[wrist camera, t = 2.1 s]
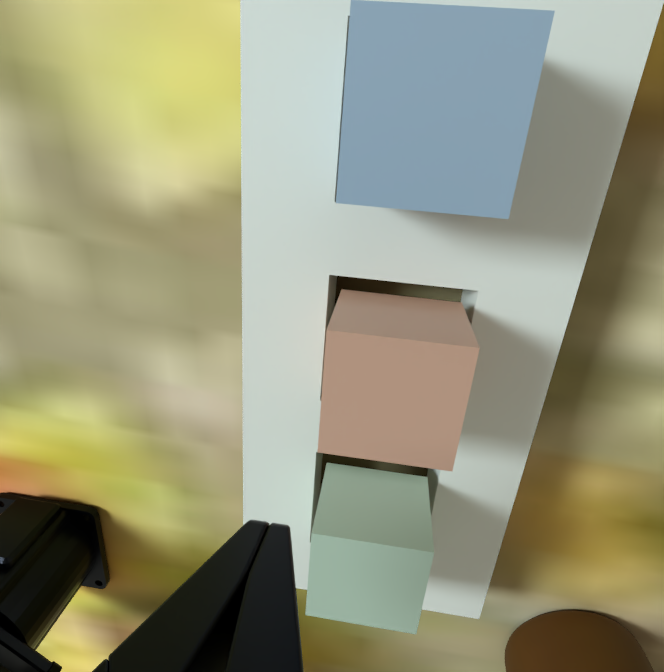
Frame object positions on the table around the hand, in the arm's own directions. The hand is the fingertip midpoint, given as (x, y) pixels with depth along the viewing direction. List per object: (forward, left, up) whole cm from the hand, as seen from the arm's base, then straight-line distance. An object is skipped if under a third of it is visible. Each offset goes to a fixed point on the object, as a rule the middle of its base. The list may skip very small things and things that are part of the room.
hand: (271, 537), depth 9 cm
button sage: (-8, -2, -10) cm, 13 cm away
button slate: (+8, -2, -10) cm, 13 cm away
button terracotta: (0, -2, -10) cm, 10 cm away
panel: (0, -2, -13) cm, 13 cm away
